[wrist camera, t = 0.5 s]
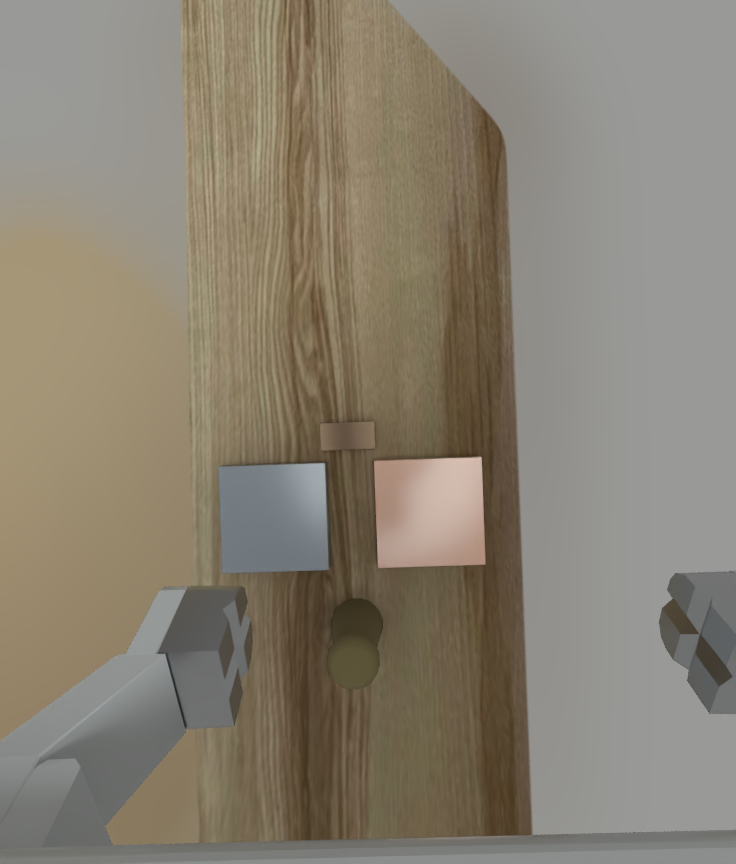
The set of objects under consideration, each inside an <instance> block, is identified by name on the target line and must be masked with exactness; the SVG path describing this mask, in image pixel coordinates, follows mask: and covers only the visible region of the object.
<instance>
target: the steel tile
mask: <svg viewBox="0 0 736 864" xmlns="http://www.w3.org/2000/svg"><path fill="white" fill-rule="evenodd" d="M218 470H219V496H220V522H221V548H222V573H249V572H280V571H311V570H329V568H330V542H329V515H328V488H327V462H312V463H284V464H256V465H228V466H220V467H218Z"/></svg>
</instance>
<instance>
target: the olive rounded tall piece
mask: <svg viewBox="0 0 736 864" xmlns="http://www.w3.org/2000/svg"><path fill="white" fill-rule="evenodd" d="M382 628H383V622H382V617H381V614H380V612H379V610H378V609H377V608H376V606H375V605H373V604H372V603H370V602H369V601H367V600H364V599H360V598H359V599H350V600H347V601H344V602H343V603H342V604H340V605H339V606H338V607H337V608H336V610H335V611H334V613H333V616H332V619H331V630H332V640H333V643H332V645H331V646H330V648H329V652H328V655H327V668H328V671H329V674H330V676H331V678H332V679H333V680H334V681H335V683H337V684H338V685H340V686H341V687H343V688H347V689H360V688H363V687H365V686H367V685H368V684H369V683H371V682H372V680H373V679H374V677H375V676H376V674H377V672H378V669H379V665H380V661H379V652H378V649H377V645H378V642H379V638H380V635H381V632H382Z"/></svg>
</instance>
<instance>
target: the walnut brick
mask: <svg viewBox="0 0 736 864" xmlns="http://www.w3.org/2000/svg"><path fill="white" fill-rule="evenodd" d="M320 438H321V451H324V450H351V449H375V427H374V421H373V422H347V423H320Z"/></svg>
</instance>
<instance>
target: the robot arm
mask: <svg viewBox="0 0 736 864" xmlns="http://www.w3.org/2000/svg"><path fill="white" fill-rule="evenodd" d="M667 590H668V592H669V594H670V595H671V597H672V598H673V599H672V600H671V601H670V602H668V603H667V604H666V605H665V606H664V607H663V608H662V611H661V616H660V620H659V624H660V632H661V638H662V640H663V643H664V645H665V648H666V649H667V651H668V652H669V654H670V656H671V657H672V659H673V660H674V661H676V662H677V663H679V664H680V665H682V666H683V667H685V668H686V669H688V670H689V671H688V678H687V681H688V683H689V684H690V686H691V687H692V688H693V690H694V691H695V693H696V695H697V696H698V697H699V699H700V700H701V702H702V703H703V705H704V706H705V708H706V709H707V711H708V712H709V713H710V714H736V571H729V572H698V573H675V575H674V576H673V577H672V578H671V579H670V583H669V585H668V589H667ZM246 606H247V597H246V592H245V588H244V587H243V586H190V587H164V588H162V589H161V590H160V591H159V592H158V593H157V595H156V597H155V599H154V601H153V603H152V605H151V607H150V608H149V610H148V612H147V614H146V616H145V618H144V620H143V622H142V624H141V626H140V627H139V629H138V631H137V633H136V635H135V637H134V639H133V641H132V643H131V644H130V646H129V648H128V650H127V652H126V654H125V655H116V656H115V657H114V658H112V659H111V660H109V661H108V662H107V663H105V664H104V665H103V666H101V667H100V668H99V669H97V670H96V671H94V672H93V673H92V674H90V675H89V676H88V677H86V678H85V679H84V680H83V681H81V682H80V683H78V684H77V685H76V686H74V687H73V688H71V689H70V690H69V691H68V692H66V693H65V694H63V695H62V696H60V697H59V698H58V699H56V700H55V701H54V702H52V703H51V704H50V705H48V706H47V707H46V708H44V709H43V710H41V711H40V712H39V713H37V714H36V715H35V716H33V717H32V718H31V719H29V720H28V721H27V722H25V723H24V724H23V725H21V726H20V727H18V728H17V729H16V730H14V731H13V732H12V733H10V734H9V735H8V736H6V737H5V738H4V739H2V740H1V741H0V864H736V830H714V831H675V832H673V831H672V832H637V833H636V832H633V833H593V834H555V835H514V836H473V837H431V838H389V839H347V840H305V841H264V842H224V843H184V844H150V845H149V844H147V845H113V844H112V842H111V839H110V837H109V835H108V832H107V830H106V827H105V825H106V824H107V823H108V822H109V821H110V820H111V818H112V817H113V816H114V815H115V814H116V812H118V810H119V809H120V808H121V807H122V806H123V805H124V803H125V802H126V801H127V800H128V799H129V797H131V795H132V794H133V793H134V792H135V791H136V790H137V788H138V787H139V786H140V785H141V784H142V782H143V781H144V780H145V779H146V778H147V777H148V775H149V774H150V773H151V772H152V771H153V770H154V769H155V768H156V766H157V765H158V764H159V763H160V762H161V760H162V759H163V758H164V757H165V756H166V755H167V754H168V752H169V751H170V750H171V749H172V748H173V747H174V746H175V744H176V743H177V742H178V741H179V740H180V738H181V737H182V736H183V735H184V734H185V733H186V730H185V729H197V728H215V727H233V726H234V725H235V721H236V717H237V713H238V709H239V705H240V701H241V698H242V694H243V692H242V686H241V680H240V679H241V678H242V677H243V676H244V675H245V674H246V673H247V672H248V669H249V665H250V660H251V653H252V643H253V640H252V626H251V620H250V619H249V618H248V617H247V616H246V615H245V614H244V613H245V609H246Z"/></svg>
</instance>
